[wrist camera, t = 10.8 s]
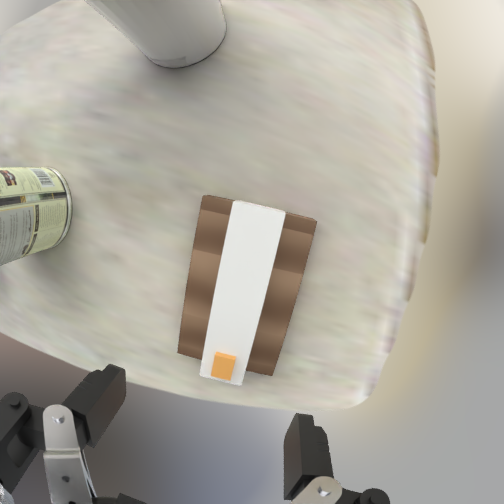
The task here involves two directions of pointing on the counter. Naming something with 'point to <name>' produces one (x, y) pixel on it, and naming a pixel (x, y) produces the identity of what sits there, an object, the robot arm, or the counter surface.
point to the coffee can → (32, 211)
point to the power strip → (240, 289)
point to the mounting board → (278, 291)
